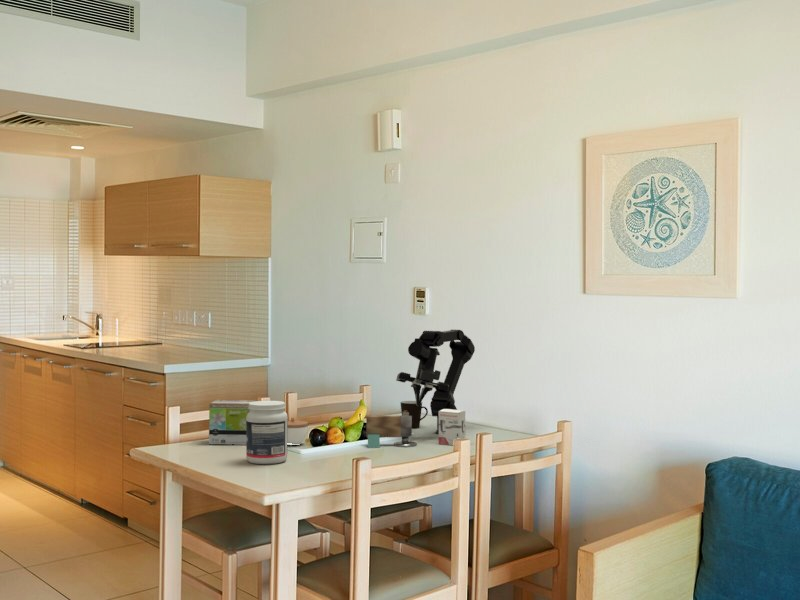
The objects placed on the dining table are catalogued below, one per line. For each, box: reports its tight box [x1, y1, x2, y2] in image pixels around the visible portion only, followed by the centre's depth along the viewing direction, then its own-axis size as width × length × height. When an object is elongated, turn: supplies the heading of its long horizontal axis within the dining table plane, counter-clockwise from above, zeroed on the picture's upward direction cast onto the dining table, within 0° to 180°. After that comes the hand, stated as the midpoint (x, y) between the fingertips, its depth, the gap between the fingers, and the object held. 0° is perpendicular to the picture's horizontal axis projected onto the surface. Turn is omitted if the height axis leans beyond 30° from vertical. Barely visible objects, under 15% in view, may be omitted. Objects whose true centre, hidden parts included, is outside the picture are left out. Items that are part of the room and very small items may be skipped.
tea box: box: [208, 399, 256, 446], centre depth 304 cm, size 15×10×15 cm, turn 92°
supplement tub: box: [245, 400, 289, 465], centre depth 271 cm, size 13×13×18 cm
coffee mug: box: [399, 400, 429, 430], centre depth 338 cm, size 12×9×10 cm
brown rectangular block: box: [365, 414, 413, 438], centre depth 300 cm, size 16×4×7 cm, turn 92°
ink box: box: [438, 409, 466, 446], centre depth 303 cm, size 9×5×12 cm, turn 62°
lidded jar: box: [287, 417, 309, 445], centre depth 301 cm, size 11×11×9 cm
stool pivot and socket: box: [367, 433, 418, 449], centre depth 300 cm, size 11×17×4 cm, turn 84°
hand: (417, 405), depth 312 cm, fingers closed
